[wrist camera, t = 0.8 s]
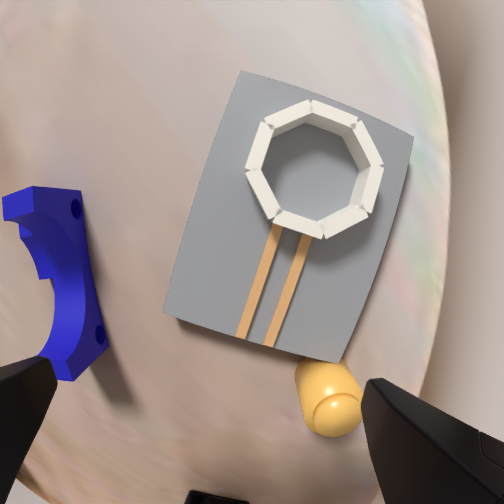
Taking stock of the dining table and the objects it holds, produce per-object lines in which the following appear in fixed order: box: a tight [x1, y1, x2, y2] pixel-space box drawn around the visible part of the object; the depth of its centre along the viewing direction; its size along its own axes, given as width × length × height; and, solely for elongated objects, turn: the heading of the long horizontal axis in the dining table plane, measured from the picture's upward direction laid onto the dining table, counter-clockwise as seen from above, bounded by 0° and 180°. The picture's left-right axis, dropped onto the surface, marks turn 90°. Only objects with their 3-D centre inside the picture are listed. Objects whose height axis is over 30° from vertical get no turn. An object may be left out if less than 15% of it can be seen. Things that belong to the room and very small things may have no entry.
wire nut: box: [295, 357, 363, 437], centre depth 18 cm, size 4×4×6 cm
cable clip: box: [2, 186, 109, 382], centre depth 17 cm, size 12×4×6 cm, turn 7°
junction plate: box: [162, 71, 414, 364], centre depth 17 cm, size 16×12×4 cm
